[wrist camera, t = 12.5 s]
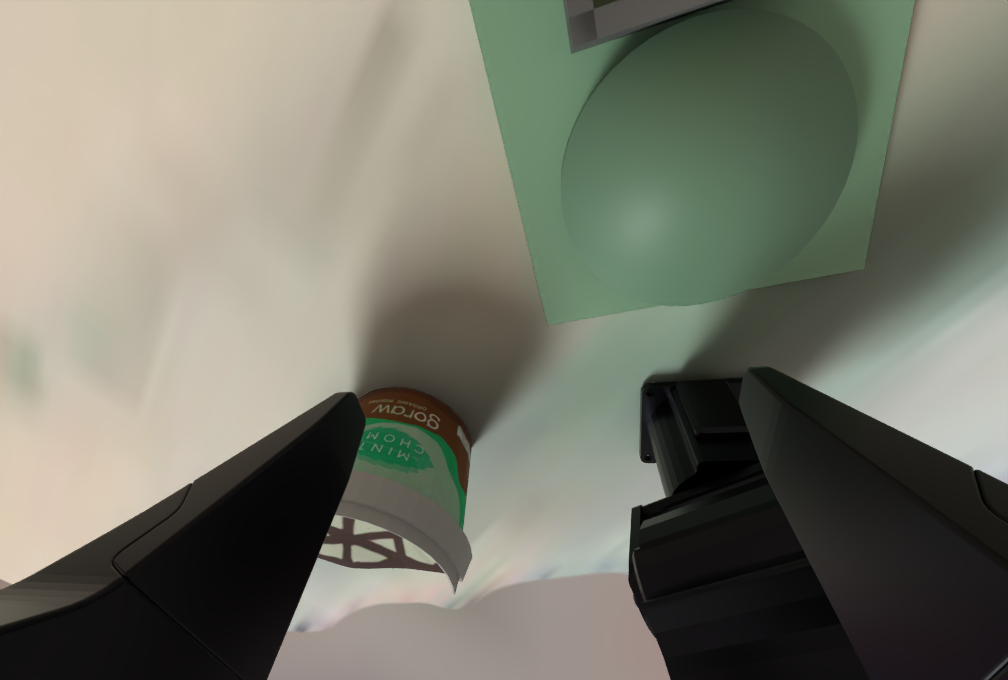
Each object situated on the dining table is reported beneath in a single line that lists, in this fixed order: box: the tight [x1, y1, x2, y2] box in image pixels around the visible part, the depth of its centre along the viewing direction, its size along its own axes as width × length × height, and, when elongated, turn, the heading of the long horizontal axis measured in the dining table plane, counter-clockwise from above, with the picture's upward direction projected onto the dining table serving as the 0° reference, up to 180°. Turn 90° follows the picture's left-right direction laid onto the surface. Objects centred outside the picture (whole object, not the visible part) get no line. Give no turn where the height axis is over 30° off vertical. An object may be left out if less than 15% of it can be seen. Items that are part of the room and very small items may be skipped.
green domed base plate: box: [469, 0, 915, 325], centre depth 15 cm, size 20×15×4 cm
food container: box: [317, 387, 472, 594], centre depth 23 cm, size 12×6×10 cm, turn 88°
